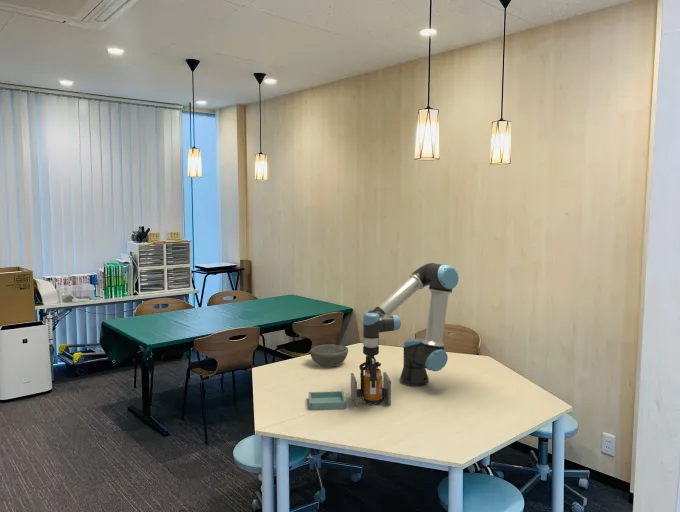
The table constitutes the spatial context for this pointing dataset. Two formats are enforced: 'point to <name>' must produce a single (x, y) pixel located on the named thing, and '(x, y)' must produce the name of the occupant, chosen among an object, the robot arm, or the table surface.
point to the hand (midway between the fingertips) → (370, 389)
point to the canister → (366, 384)
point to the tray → (327, 400)
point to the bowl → (329, 354)
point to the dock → (356, 393)
